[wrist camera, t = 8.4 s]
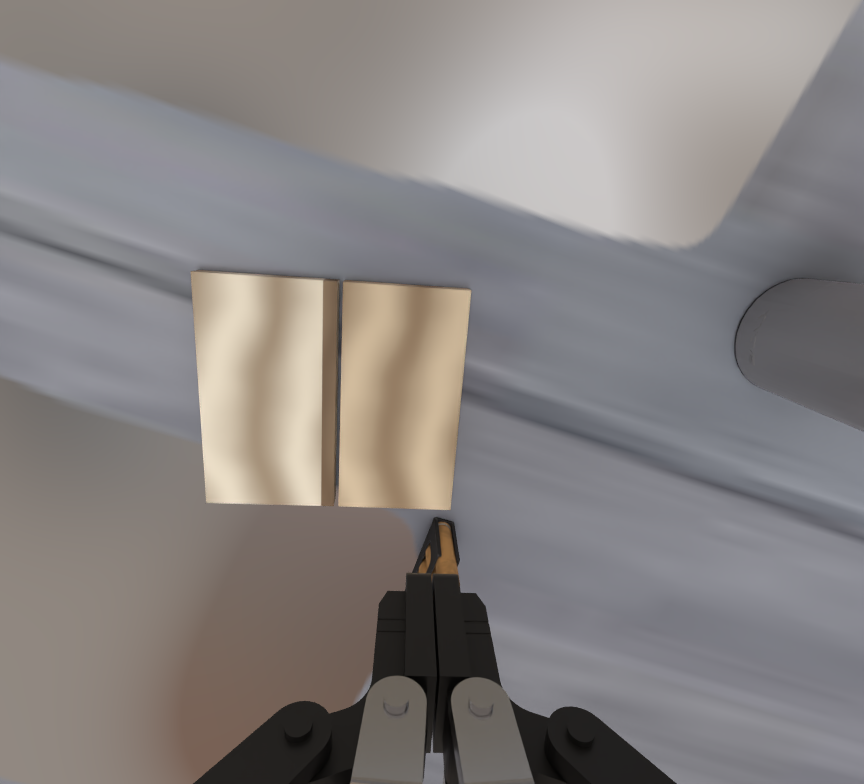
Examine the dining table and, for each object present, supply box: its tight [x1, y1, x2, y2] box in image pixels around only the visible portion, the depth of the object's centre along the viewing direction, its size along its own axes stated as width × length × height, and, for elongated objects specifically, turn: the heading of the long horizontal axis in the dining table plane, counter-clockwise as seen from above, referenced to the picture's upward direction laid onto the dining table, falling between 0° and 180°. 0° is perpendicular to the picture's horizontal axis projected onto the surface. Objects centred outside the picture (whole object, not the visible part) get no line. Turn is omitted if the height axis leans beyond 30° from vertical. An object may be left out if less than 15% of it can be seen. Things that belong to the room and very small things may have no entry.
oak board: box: [339, 280, 471, 510], centre depth 39 cm, size 9×18×2 cm, turn 176°
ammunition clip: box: [405, 518, 460, 590], centre depth 39 cm, size 11×2×12 cm, turn 160°
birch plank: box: [191, 270, 340, 506], centre depth 38 cm, size 10×18×2 cm, turn 176°
